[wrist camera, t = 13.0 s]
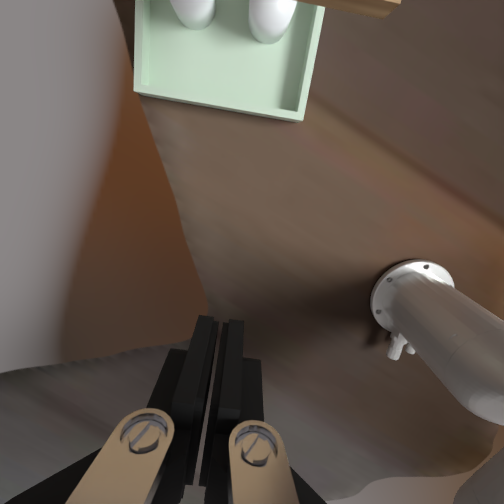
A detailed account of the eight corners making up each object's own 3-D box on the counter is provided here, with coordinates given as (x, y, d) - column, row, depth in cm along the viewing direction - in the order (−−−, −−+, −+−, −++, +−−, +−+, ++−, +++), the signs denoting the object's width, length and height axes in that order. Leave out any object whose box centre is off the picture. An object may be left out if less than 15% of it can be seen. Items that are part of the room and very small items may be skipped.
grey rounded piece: (283, 47, 33) (292, 30, 28) (245, 40, 33) (246, 20, 28) (291, 0, 32) (301, -28, 27) (251, -8, 31) (253, -38, 26)
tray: (297, 122, 37) (302, 120, 34) (142, 95, 35) (133, 91, 32) (326, -27, 32) (335, -45, 29) (147, -67, 30) (136, -90, 27)
